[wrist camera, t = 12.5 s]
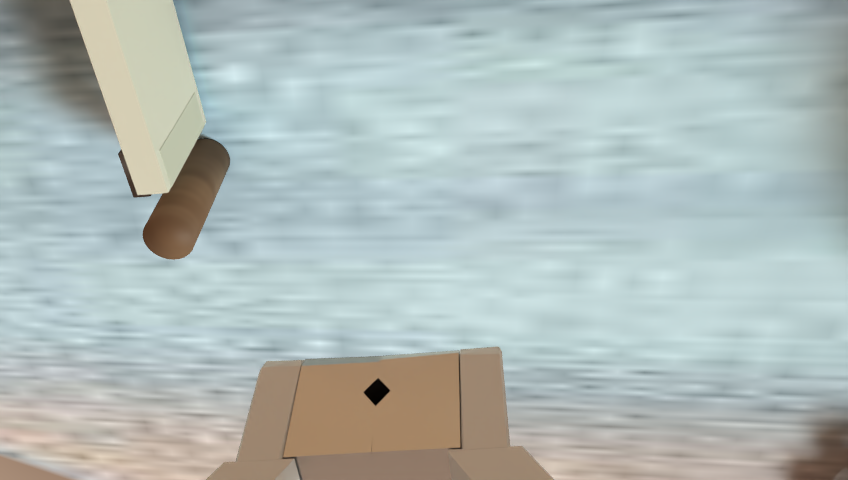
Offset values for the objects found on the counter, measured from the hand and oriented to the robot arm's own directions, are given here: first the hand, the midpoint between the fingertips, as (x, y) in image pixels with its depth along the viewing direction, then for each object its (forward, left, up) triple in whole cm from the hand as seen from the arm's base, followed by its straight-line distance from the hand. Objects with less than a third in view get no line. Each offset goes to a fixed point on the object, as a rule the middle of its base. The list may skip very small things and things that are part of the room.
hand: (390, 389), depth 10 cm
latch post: (+8, -11, -25) cm, 29 cm away
